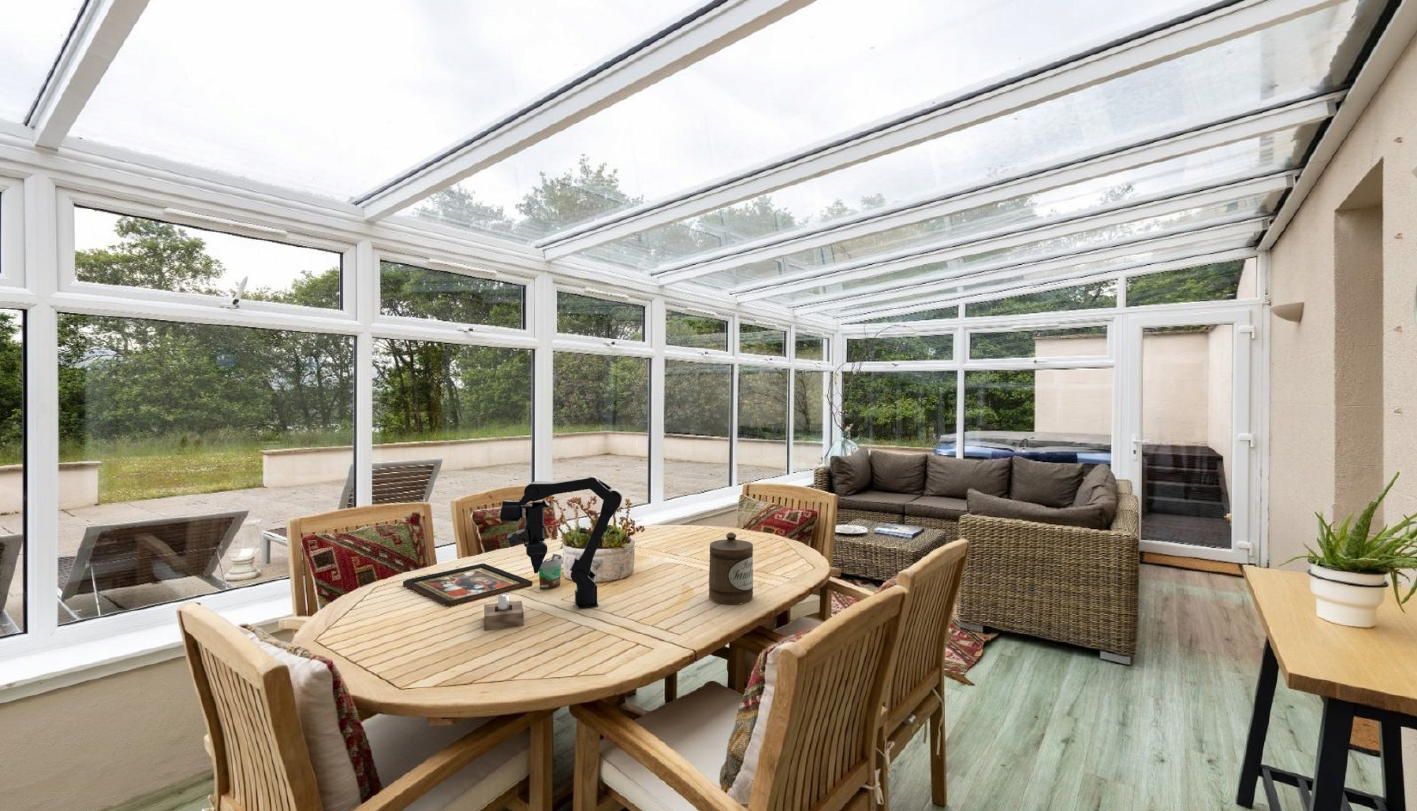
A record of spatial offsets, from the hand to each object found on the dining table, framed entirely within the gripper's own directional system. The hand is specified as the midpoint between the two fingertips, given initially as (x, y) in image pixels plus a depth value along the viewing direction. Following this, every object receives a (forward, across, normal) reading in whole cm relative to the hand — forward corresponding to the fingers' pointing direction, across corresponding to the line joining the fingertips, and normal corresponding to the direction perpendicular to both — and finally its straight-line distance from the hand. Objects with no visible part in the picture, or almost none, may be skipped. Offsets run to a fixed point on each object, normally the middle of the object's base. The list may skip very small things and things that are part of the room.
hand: (534, 569), depth 202 cm
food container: (+12, -20, +8) cm, 25 cm away
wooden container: (+12, +13, +63) cm, 66 cm away
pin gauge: (+12, +11, -10) cm, 19 cm away
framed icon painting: (+13, -31, -21) cm, 40 cm away
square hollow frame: (+12, +11, -10) cm, 19 cm away
